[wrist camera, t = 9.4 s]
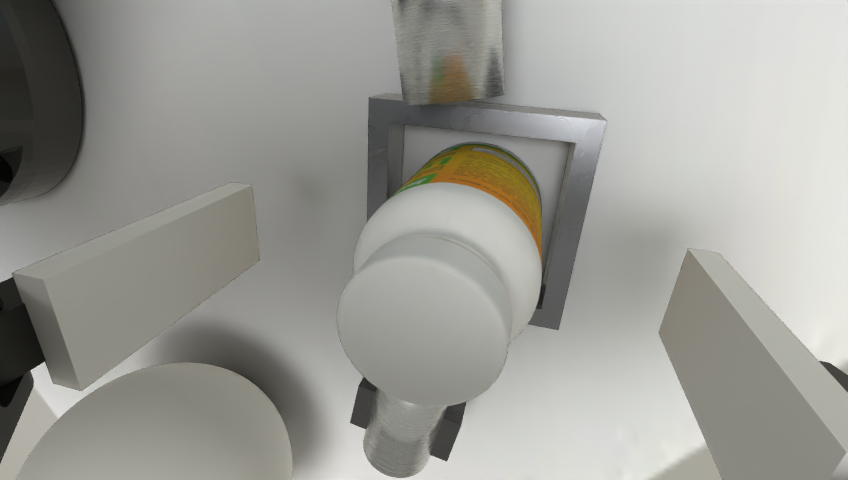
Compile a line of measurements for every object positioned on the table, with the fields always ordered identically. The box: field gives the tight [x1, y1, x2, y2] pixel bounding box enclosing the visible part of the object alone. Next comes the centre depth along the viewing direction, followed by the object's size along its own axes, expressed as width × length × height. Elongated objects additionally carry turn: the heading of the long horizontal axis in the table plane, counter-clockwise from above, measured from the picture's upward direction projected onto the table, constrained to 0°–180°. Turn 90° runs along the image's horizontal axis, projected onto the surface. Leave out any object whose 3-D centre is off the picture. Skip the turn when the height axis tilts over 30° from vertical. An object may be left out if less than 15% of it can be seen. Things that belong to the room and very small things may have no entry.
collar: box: [367, 94, 607, 330], centre depth 17 cm, size 8×8×2 cm
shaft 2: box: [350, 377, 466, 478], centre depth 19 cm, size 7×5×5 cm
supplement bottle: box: [337, 142, 542, 407], centre depth 14 cm, size 5×5×10 cm
